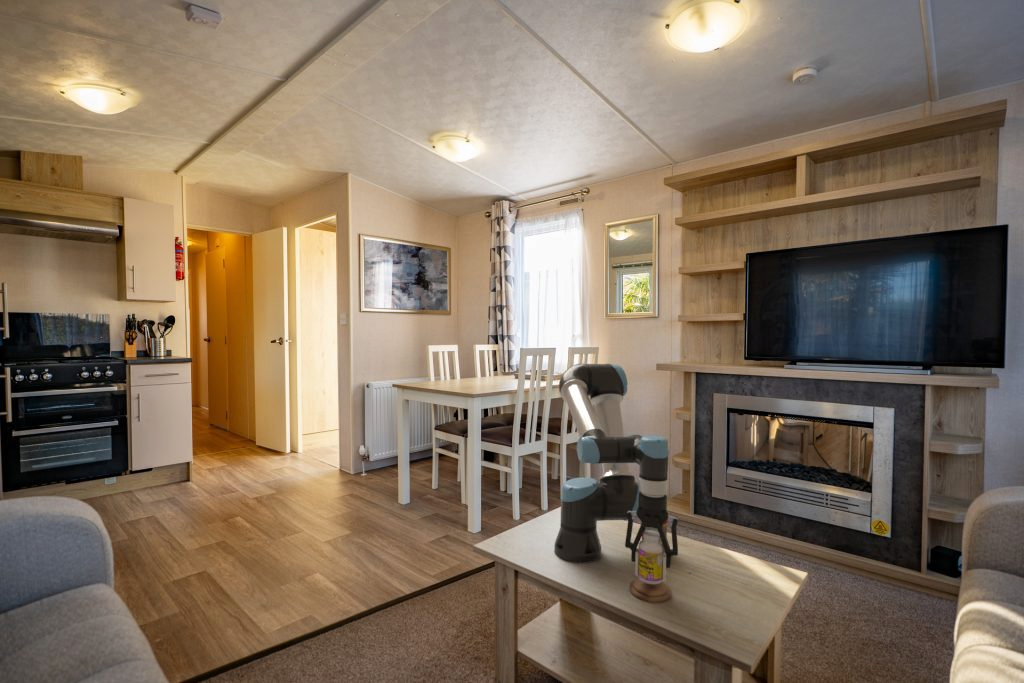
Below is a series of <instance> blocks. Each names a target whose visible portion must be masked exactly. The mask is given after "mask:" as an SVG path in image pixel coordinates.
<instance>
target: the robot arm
mask: <svg viewBox="0 0 1024 683" xmlns="http://www.w3.org/2000/svg"><path fill="white" fill-rule="evenodd" d="M558 383H559V384H558V389H559V390H558V391H559V394H560V396H561V398H562V400H563V401H565V402H566V404H567V407H568V409H569V412H570V416H572V420H573V423H574V425H575V427H576V430H577V432H578V433H577V434H578V436H579V438H578V440H577V442H576V454H577V458H578V460H579V462H581V463H583V464H592V465H593V464H602V475H601V476H600V477H599V482H598V480H597V479H595V478H594V477H593V478H592V477H586V476H585V477H584V476H583V477H574V478H570V479H568V480H567V481H565V482H564V483H563V484H562V486H561V494H560V525H559V526H560V528H559V531H558V532H557V535H556V539H555V541H554V549H553V550H554V554H555V555H556V556H558V557H559V558H560V559H563V560H565V561H568V562H571V563H572V562H573V563H581V564H582V563H591V562H595V561H597V560H598V559H600V558H601V557H602V544H601V540H600V538H599V534H598V530H597V529H598V528H597V526H598V525H597V523H598V522H599V521H600V522H601V521H625V522H626V521H627V528H626V535H625V542H624V543H625V544H624V546H625V548H627V549H630V551H631V558H630V559H631V562H633V563H635V564H634V565H635V566H634V576H636V577H638V561H639V543H640V541H641V540H642V534H643V532H644V530H645V527H653V528H656V529H658V532H659V534H660V537H661V541H662V544H663V547H664V550H665V553H664V555H663V580H662V582H666V580H667V578H666V577H667V569H670V568H671V567H672V566H671V565H672V564H671V563H672V557H673V556H675V557H676V556H678V554H679V545H678V531H677V530H678V529H677V526H678V522H679V517H678V516H676V515H675V516H672V515H670V514H669V513H668V510H667V509H668V507H667V506H668V496H667V494H668V474H669V473H668V471H669V470H668V469H669V453H670V449H669V441H668V439H667V438H666V437H663V436H660V435H653V434H651V435H650V434H647V435H643V436H642V435H640V434H635V433H632V434H628V435H627V436H625V433H624V427H623V426H624V424H623V417H622V412H621V410H622V409H621V402H623V400H624V396H626V394H627V392H628V378H627V375H626V372H625V370H624V369H623V367H621V365H618V364H611V363H603V364H602V363H577V364H574V365H571V366H569V367H568V368H567V369H566V370H565V371H564V372H563V374H562V375H561V376H560V378H559V382H558ZM593 405H594V406H595V408H594V406H593ZM629 464H637V465H638V466H639V476H638V481H636V478H635V475H634V474H632V472H631V471H630V467H629ZM637 519H639V520H640V521H641V524H640V526H639V529H638V531H637V534H636V536H635V538H634V541H633V542H632V533H633V527H634V520H637ZM666 520H667V521H668V523H669V525H670V526H671V528H670V529H671V530H670V532H671V542H672V548H671V547H670V543H669V541H668V536H667V537H666V534H665V531H664V527H663V524H664V522H665V521H666Z"/></svg>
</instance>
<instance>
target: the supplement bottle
mask: <svg viewBox="0 0 1024 683" xmlns="http://www.w3.org/2000/svg"><path fill="white" fill-rule="evenodd" d="M643 538H644V539H643V540H642V539H641V540H640V541H639V544H638V549H639V561H638V576H637V578H639V579H640V580H641V581H643V582H645V583H648V584H659V583H661V582H663V555H664V547H663V544H662V543H661V542H660V539H661V537H660V534H659V532H657V531H653V530H646V531H644V532H643Z"/></svg>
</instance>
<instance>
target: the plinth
mask: <svg viewBox="0 0 1024 683" xmlns="http://www.w3.org/2000/svg"><path fill="white" fill-rule="evenodd" d="M629 592H630V594H632V596H634V597H635V598H637V599H639V600H640V601H644V602H648V603H652V604H653V603H654V604H655V603H665V602H668V601H669V600H670V599H671V597H672V591H671V588H670V587H669V586H668V585H667V584H666V583H665V581H662V582H661V583H659V584H648V583H645V582H643V581H641V580H640V579H639V577H637V578H635V579H634V580H632V581H631V582H630V583H629Z"/></svg>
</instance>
